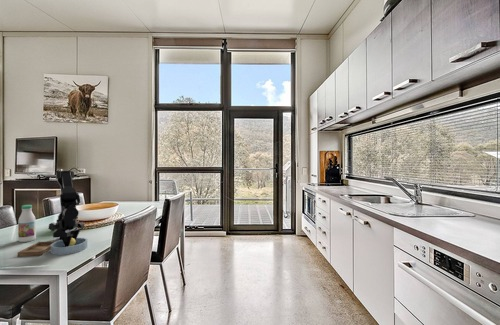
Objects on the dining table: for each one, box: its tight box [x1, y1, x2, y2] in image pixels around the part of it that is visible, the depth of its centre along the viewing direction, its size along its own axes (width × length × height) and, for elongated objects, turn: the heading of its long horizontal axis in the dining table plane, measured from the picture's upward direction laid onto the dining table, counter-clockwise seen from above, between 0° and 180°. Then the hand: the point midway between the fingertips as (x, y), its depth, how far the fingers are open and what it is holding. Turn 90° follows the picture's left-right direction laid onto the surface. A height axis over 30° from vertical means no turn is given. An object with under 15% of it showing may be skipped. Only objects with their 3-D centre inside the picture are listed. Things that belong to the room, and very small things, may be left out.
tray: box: [16, 240, 58, 258], centre depth 135 cm, size 16×10×2 cm, turn 8°
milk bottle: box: [17, 204, 37, 243], centre depth 152 cm, size 8×8×20 cm
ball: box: [64, 238, 76, 246], centre depth 137 cm, size 5×5×5 cm
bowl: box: [50, 237, 88, 256], centre depth 137 cm, size 16×16×4 cm
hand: (69, 246), depth 137 cm, fingers closed on ball, 5 cm apart
